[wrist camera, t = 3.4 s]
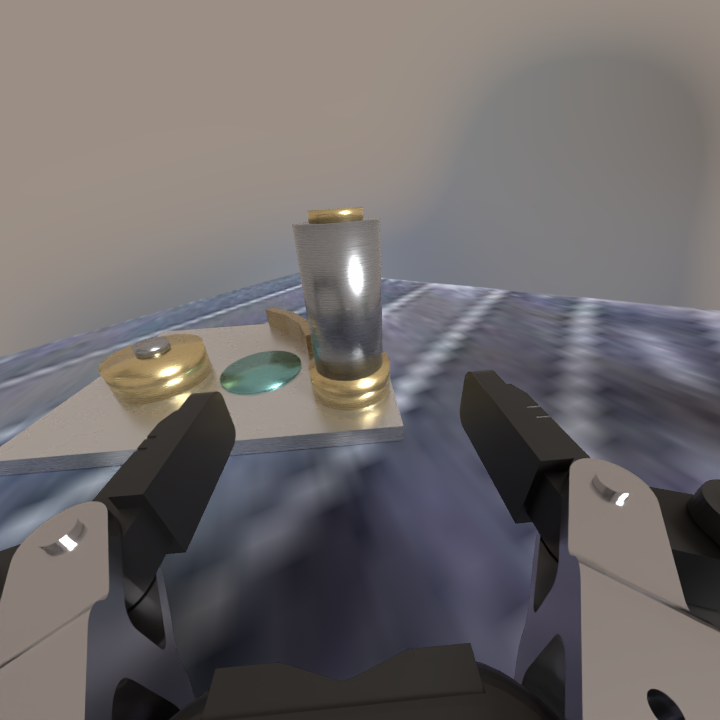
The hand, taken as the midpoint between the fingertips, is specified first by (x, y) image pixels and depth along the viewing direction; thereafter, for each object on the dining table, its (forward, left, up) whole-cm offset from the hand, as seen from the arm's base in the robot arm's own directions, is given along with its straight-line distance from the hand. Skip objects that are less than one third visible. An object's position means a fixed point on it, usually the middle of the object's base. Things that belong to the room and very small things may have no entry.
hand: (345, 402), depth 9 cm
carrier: (-10, +14, -7) cm, 19 cm away
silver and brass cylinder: (0, +10, -6) cm, 11 cm away
